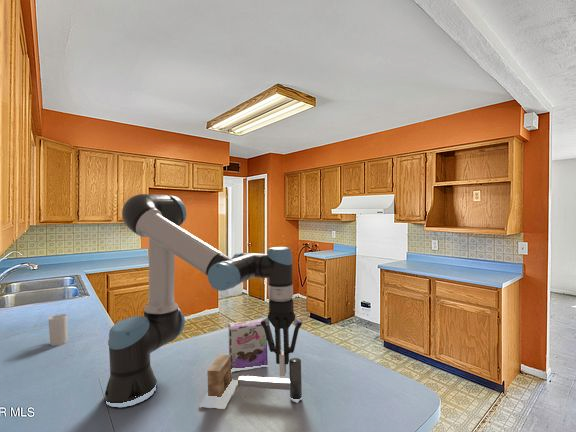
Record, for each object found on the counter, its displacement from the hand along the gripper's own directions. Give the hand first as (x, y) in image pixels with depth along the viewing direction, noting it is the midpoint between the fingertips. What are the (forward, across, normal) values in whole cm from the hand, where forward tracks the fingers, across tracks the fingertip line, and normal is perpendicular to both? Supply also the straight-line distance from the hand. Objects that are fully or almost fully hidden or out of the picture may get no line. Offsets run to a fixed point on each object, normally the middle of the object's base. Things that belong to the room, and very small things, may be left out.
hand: (282, 373), depth 97 cm
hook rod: (+8, -4, 0) cm, 9 cm away
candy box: (+8, -16, +18) cm, 26 cm away
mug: (+8, -110, +29) cm, 114 cm away
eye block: (+8, -20, 0) cm, 22 cm away
